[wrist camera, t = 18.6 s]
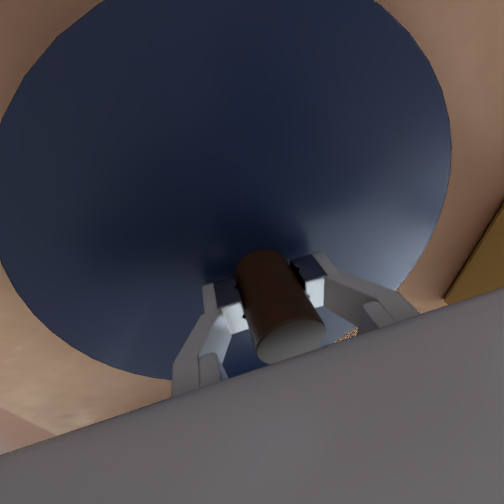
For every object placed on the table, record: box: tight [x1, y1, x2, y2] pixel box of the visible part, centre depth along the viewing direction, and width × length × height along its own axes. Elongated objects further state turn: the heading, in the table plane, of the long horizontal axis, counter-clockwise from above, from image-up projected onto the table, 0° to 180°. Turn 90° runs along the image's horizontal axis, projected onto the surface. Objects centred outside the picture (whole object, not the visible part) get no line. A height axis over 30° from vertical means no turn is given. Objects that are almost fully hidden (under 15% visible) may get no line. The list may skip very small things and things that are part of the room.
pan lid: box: [0, 0, 452, 380], centre depth 10 cm, size 19×19×5 cm
